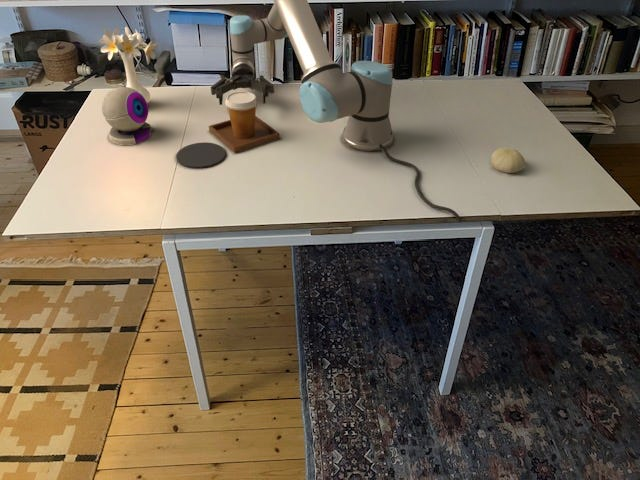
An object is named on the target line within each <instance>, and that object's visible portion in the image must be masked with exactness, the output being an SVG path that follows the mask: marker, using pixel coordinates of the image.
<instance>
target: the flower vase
mask: <svg viewBox="0 0 640 480" xmlns="http://www.w3.org/2000/svg"><path fill="white" fill-rule="evenodd" d="M124 31H125V32H124V33H123V34H120V35H119V33H120V29H119V27H118V28H115V29H114V30H113V32H111V31H110V30H109V29H104V30H103V35H102V37H101V38H100V39H98V43H99V44H105V45H103V46H101V48H100V53H102V54H103V53H104V54H105V53H107V59H108V61H111V60H112V59H113V56H114V54H117V53H118V54H119V55H120V57H121V59H122V62H123V65H124V70H125V71H124V72H125V75H126V85H125V87H129V88H132V89H135V90H136V91H138V92H139V93H140V94H141V95H142V96H143V97H144V98H145V100H146V102H147V104H148V103H150V100H151V98H152V96H151V93H150V91H149V90H148V89H147V88H146V87H145V86H143V85H142V83H141V82H140V81H139V78H138V75H137V71H136V68H135V64H134V56H136V57H141V56H142V53H141V51H140V50H142V51H144V55H145V57H146V64H147V65H149V64H150V62H151V59H152V60H155V59H156V57H157V55H156V53H155V52H154V50H156V48H157V47H158V44H159V43H158V42H155V43H154V41H153V40H150V42H149V43H148V44H147V43H146V42H145V41H144V39H143V36H142V35H141V33H140V32H138V31H137V29H136V28H135V33H133V34H132V31H131V30H130V28H129V27H127V26H125V27H124ZM139 49H140V50H139Z"/></svg>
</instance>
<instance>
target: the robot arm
mask: <svg viewBox="0 0 640 480" xmlns="http://www.w3.org/2000/svg"><path fill="white" fill-rule="evenodd" d="M273 2H274V3H273V4H272V7H271V9H270V11H269V13H268V14H267V16H266V18H261V19H260V18H259V19H255V20H252V18H251V17H250V16H248V15H238V14H237V15H234V16H232V17H231V18H230V19H229V37H230V45H231V57H232V69H231V77H230V78H227V77H226V76H225V75H223V76H222V77H221V78H220V79H219V80H218V81H217V82H215V83H214V84H213V85H211V86H210V93H211V96H215V98H216V99H218V103H219V104H218V105H219V106H222V105H223V101H224V100H223V99H224V94H226V93H228V92H229V91H236V90H237V89H250V90H255V91H258V92H261V93H262V103H263V104H266V102H267V101H266V98H269V97H270V94H274V93H275V85H274V84H273V83H272V82H271V81H269V80H268V79H266V78H265V77H264V75H263V74H261V75H259V76H258V77H255V61H256V60H255V55H254V53H255V52H254V45H257V44H261V43H262V44H263V43H266V42H271V41H276V40H282V39H285V38H288V39H289V41H290V43H291V47H292V48H293V51H294V53H295V56H296V58H297V60H298V61H297V62H298V63H299V65H300V68H301V70H302V73H303V75H302V77H301V79H300V83H301V85H300V86H299V90H298V96H299V101H300V104H301V105H300V106H301V107H302V109H303V111H304V113H305V114H306V116H307V117H308V118H309V119H310V120H311V121H313V122H315V123H317V124H323V123H330V122H335V121H337V120H339V119H343V118H346V117H348V118H347V121H346V125H345V127H344V128H343V131H342V141H343V143H344V144H345V145H346V146H347V147H349V148H351V149H353V150H357V151H362V152H376V151H382V152H383V153H384V155H385V156H386V157H387V158H388V159H389V160H390V161H392V162H395V163H398V164H400V165H404V166H407V167H410V168H412V169H413V170H414V171H415V172H416V173H415V174H416V175H415V178H414V187H415V190H416V192H417V194H418V196H419V197H420V198H421V200H422V201H423V202H424V203H426V204H427V205H428V206H430V208H433V209H435V210H440V211H445V212H448V213H450V214H452V215H453V216H454V217H455V218H456V220H457V221H458V222H462V218H461V217H460V215H459V214H458V213H457V212H456V211H455V210H454V209H452V208H450V207H446V206H441V205H438V204H435V203H432V202H431V201H430V200H428V199H427V197H425V196H424V194H423V192H422V191H421V189H420V186H419V180H420V179H419V178H420V170H419V168H418V167H417V166H416V165H415V164H413V163H411V162H408V161H404V160H400V159H397V158H395V157H393V156H391V155H390V153H389V152H388V150H387V148H389V147H390V146H391V145H392V144H393V142H394V141H393V140H394V132H393V129H392V125H391V124H392V123H391V120H390V107H391V100H392V99H391V98H392V88H393V85H394V84H393V71H392V69H391V67H389V66H387V65H386V64H383V63H381V62H378V61H372V60H356V61H354V62H353V63H352V64H351V67H350V69H351V71H347V72H343V69H342V67H341V64H340V62H339V63H338V62H336V61H334V60H333V59H332V57H331V54H330V51H329V50H328V47H327V45H326V43H325V40H324V37H323V35H322V33H321V30H320V28H319V25H318V23H317V20H316V18H315V16H314V13H313V11H312V8H311V6H310V4H309V1H308V0H273Z"/></svg>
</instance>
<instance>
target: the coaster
mask: <svg viewBox="0 0 640 480" xmlns="http://www.w3.org/2000/svg"><path fill="white" fill-rule="evenodd" d="M175 158H176V162H177V163H178V164H179V165H181V166H182V167H184V168H189V169H206V168H210V167H214V166H217V165H219V164H220V163H221V162H222V161H224V159H225V158H226V150H225V148H224V147H223V146H221V145H219V144H217V143H214V142H195V143H191V144H188V145H186V146H183V147H182V148H181V149H179V150H178V151H177V153H176V157H175Z"/></svg>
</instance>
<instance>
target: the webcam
mask: <svg viewBox="0 0 640 480" xmlns="http://www.w3.org/2000/svg"><path fill="white" fill-rule="evenodd" d="M101 103H102V104H101V112H102V116H103V118H104V119H105V121H106V123H107V124H108V125H109V126H111V128H110V129H109V131H108V138H109V140H110V142H112V144H114V145H115V144H116V145H120V146H133V145H134V146H135V145H136V144H137V143H140V142H143V141H145V140H147V139H148V138H149V137H150V136H151V132H153V131H154V130H153V126H152V125H151V123H148V122H146V121H147V120H148V116H149V105H148V103H147V102H146V100H145V98H144V97H143V96H142V95H141V94H140V93H139V92H138V91H136V90H135V89H132V88H129V87H126V86H118V87H116V88H112V89H111V90H109V91H108V93H106V94H105V96H104V98H103V100H102V102H101Z"/></svg>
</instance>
